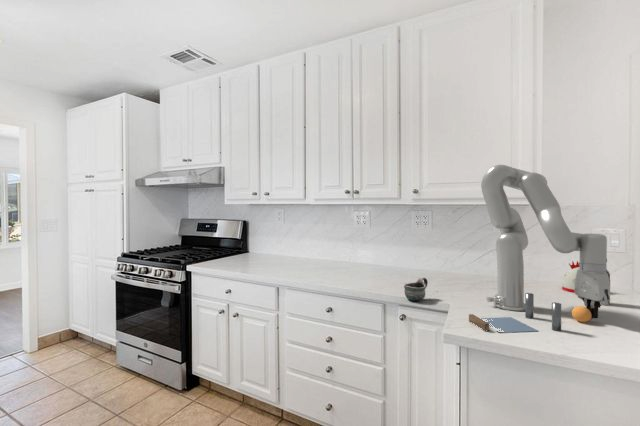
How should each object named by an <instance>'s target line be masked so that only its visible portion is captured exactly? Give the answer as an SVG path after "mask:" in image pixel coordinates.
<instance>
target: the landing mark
mask: <svg viewBox="0 0 640 426" xmlns="http://www.w3.org/2000/svg"><path fill="white" fill-rule="evenodd" d="M480 318H481V317H480ZM481 319H487V320H488V322H487V323H489V324H490V323H491V324H492V325H493V326H494V327H495V328H497V329H498V328H499V329H500V328H501V331H502V330H503V331H504V332H512V333H530V332H534V331H536V332H539V330H538V329H536V328H534V327H531V326H530V325H528V324H526V323H524V322H523V321H522V322H521V321H520V320H518V319H516V318H515V317H514V318H513V317H512V316H506V317H505V316H503V317H502V316H501V317H482V318H481ZM491 319H492V320H493V321H492V320H491ZM487 320H486V321H487ZM489 320H490V321H489ZM491 324H490V325H491ZM490 325H489V326H490ZM492 325H491V326H492ZM491 326H490V327H491ZM493 326H492V327H493ZM490 327H489V328H490ZM499 331H500V330H499Z"/></svg>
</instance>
